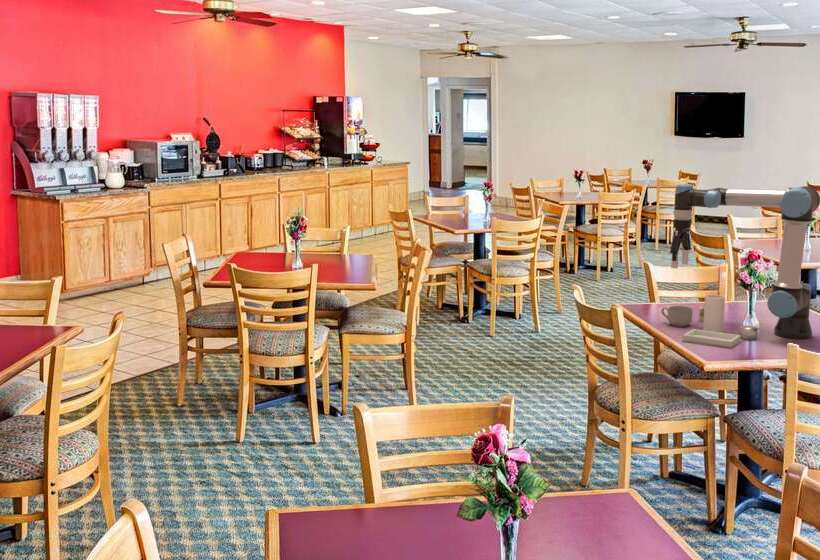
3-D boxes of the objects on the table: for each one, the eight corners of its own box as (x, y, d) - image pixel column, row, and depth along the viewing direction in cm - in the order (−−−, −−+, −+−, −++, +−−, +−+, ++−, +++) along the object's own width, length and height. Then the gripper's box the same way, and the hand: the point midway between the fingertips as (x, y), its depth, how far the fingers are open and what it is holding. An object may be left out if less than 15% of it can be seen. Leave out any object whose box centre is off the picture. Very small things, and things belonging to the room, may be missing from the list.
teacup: (696, 325, 422) (697, 308, 420) (684, 329, 414) (685, 311, 413) (668, 320, 431) (669, 303, 430) (656, 324, 424) (657, 306, 422)
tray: (740, 341, 391) (740, 335, 391) (730, 348, 380) (731, 341, 379) (693, 335, 402) (693, 328, 402) (682, 341, 391) (682, 335, 391)
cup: (725, 334, 404) (727, 298, 402) (705, 334, 405) (708, 298, 402) (719, 330, 412) (721, 294, 410) (700, 329, 413) (702, 294, 410)
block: (710, 320, 433) (711, 307, 432) (710, 322, 428) (711, 309, 427) (699, 319, 434) (700, 306, 433) (699, 321, 430) (699, 308, 429)
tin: (758, 338, 398) (759, 326, 397) (754, 341, 392) (755, 330, 391) (742, 336, 402) (742, 324, 401) (737, 339, 396) (738, 327, 395)
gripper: (683, 216, 427) (680, 261, 430) (664, 220, 406) (661, 269, 410) (699, 217, 422) (697, 263, 426) (681, 222, 402) (678, 270, 406)
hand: (679, 266), depth 418 cm, fingers open, 13 cm apart
